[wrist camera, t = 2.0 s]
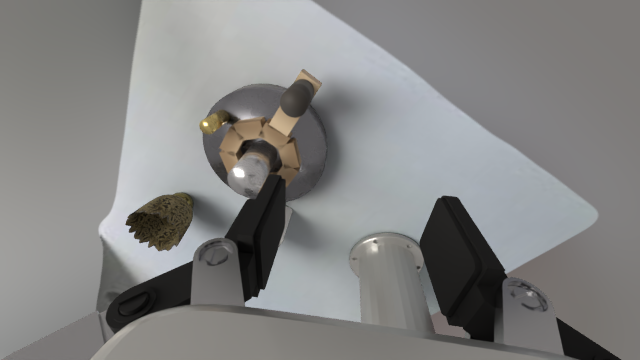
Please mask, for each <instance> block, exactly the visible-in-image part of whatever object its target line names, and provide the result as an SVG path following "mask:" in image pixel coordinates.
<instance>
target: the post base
mask: <svg viewBox="0 0 640 360" xmlns="http://www.w3.org/2000/svg"><path fill="white" fill-rule="evenodd" d="M286 90H287V89H286V88H283V87H280V86H277V85H272V84H252V85H248V86H244V87H242V88H240V89H237V90H235V91H234V92H232V93H230V94H228V95H226V96H225V97H223V98H222V99H220V100H219V101H218V102H217V103H216V104H215V105H214V106H213V107H212V109H211V110H210V112H209V114H208V115H207V117H206V118H205V119H204V120H202V121H201V122H200V125H199V126H200V129H201V130H202V132H203V145H204V150H205V153H206V156H207V159H208V161H209V163H210V165H211V167H212V168H213V170H214V171H215V173H216V174H217V175H218V176H219V178H220V179H221V180H222V181H223V182H224V183H225V184H226V185H228V186H229V187H230V188H231V189H233V190H234V191H235V192H236V193H238V194H240V195H243V196H245V197H247V198H250V199H256V197H257V195H258V193H259V190H260V189H261V187H262V185H263V183H264V181H265V180H266V178H267V176H268V174H269V173H272V172H277V171H278V170H279V169H280V167H281V166H282V161H281V157H280V154H279V150H278V148H276V147H275V146H273V145H271V144H270V143H268V142H267V141H265V140H264V139H262V138H257V139H250V140H245V142H244V143H243V145H242V147H241V152H242V155H243V156H242V157H241V159H240V160H239V161H238V162H237V163H236V164H235V166H234V167H233V168H232V169H231V170H230V172H229V173H227V170H226V168H225V165H224V163H223V161H222V158H221V156H220V154H219V152H221V151H222V149H220V148H219V147H220V145H221V143H222V141H223V139H224V137H225V135H226V133H227V131H228V129H229V128H230V127H231V126H232V125H233V124H234V123H236V122H237V121H239V120H244V119H250V118H257V117H263V116H264V118H265V121H267V120H268V119H269V118H271V119H272V118H273V117H274V115H275V113H276V112H277V110H278V108H279V107H280V98H281V96H282V94H283V93H284V92H285V91H286ZM290 132H291V133H293V134H292V136H291V138H290V139H292V138H296V140H297V144H298V149H299V153H300V157H301V164H300V169H299V172H298V173H297V174H296V176H295V177H294V178H293V180H292V181H291V182H290V184H289V185H288V186H287V187H286V202H288V201H292V200H295V199H297V198H299V197H301V196H303V195H305V194H306V193H307V192H309V191H310V190H311V189H312V188H313V187H314V186H315V185H316V183H317V182H318V180H319V179H320V177H321V175H322V172H323V169H324V164H325V159H326V153H327V137H326V133H325V129H324V126H323V124H322V122H321V120H320V118H319V116H318V114H317V113H316V112H315V110H314V109H313V108H312V107H311V106H310V105H309V106H308V108H307V110H306V112H305V113H304V114H303V115H302V116H300V118H299V119H298V121H297V122H296V124H295V125H294V127H293V128H292V130H291V131H290Z"/></svg>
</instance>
